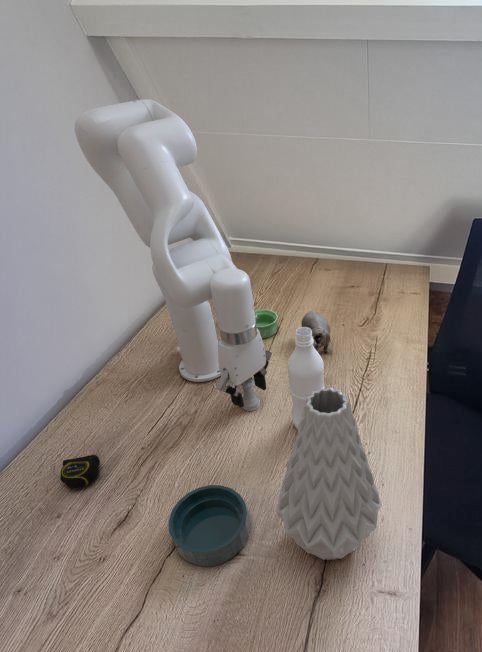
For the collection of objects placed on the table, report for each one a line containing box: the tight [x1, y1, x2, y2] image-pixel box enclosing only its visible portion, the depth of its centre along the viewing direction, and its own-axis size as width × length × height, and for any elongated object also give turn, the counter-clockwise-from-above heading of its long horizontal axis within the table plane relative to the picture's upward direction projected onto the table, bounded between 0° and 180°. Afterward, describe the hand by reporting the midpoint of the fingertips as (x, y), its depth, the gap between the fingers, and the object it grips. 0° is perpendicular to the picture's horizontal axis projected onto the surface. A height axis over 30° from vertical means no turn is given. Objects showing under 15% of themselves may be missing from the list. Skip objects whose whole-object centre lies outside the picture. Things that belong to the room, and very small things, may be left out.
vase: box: [276, 386, 382, 561], centre depth 69 cm, size 17×17×33 cm
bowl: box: [168, 484, 251, 567], centre depth 80 cm, size 13×13×5 cm
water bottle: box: [287, 326, 325, 430], centre depth 91 cm, size 7×7×25 cm
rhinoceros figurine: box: [300, 310, 331, 354], centre depth 118 cm, size 8×14×15 cm
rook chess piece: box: [241, 376, 261, 412], centre depth 103 cm, size 4×4×8 cm
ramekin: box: [254, 308, 279, 339], centre depth 127 cm, size 9×9×4 cm
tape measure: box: [59, 454, 101, 490], centre depth 91 cm, size 7×7×4 cm
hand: (249, 395), depth 104 cm, fingers open, 6 cm apart
